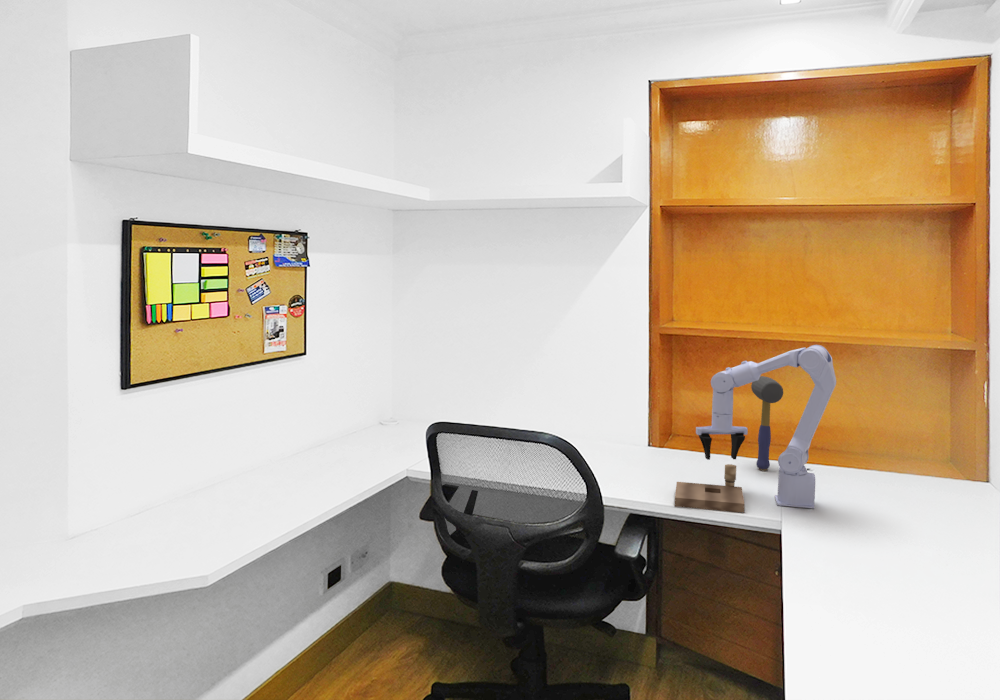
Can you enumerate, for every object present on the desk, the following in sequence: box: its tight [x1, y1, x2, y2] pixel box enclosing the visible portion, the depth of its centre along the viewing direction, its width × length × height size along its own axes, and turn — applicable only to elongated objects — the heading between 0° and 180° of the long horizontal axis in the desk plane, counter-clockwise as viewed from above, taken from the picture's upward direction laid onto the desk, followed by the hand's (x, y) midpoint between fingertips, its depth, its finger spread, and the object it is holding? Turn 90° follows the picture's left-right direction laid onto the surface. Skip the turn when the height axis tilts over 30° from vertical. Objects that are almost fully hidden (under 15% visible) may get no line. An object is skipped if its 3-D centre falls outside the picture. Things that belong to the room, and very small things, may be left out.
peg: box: [723, 463, 737, 487], centre depth 211 cm, size 3×3×7 cm
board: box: [674, 481, 745, 514], centre depth 200 cm, size 18×15×2 cm
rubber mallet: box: [750, 375, 784, 471], centre depth 230 cm, size 12×8×30 cm, turn 176°
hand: (720, 458), depth 209 cm, fingers open, 7 cm apart
